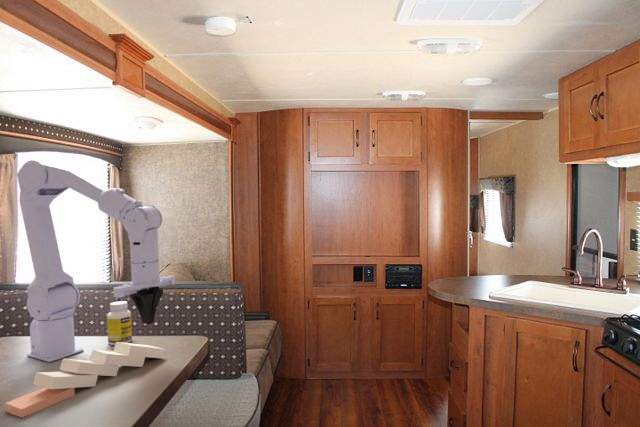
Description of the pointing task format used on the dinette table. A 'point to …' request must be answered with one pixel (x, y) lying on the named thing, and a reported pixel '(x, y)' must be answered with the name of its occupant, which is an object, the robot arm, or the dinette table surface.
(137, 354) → the domino
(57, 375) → the domino
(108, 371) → the domino
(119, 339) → the supplement bottle
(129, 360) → the domino
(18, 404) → the terracotta domino
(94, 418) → the dinette table surface
